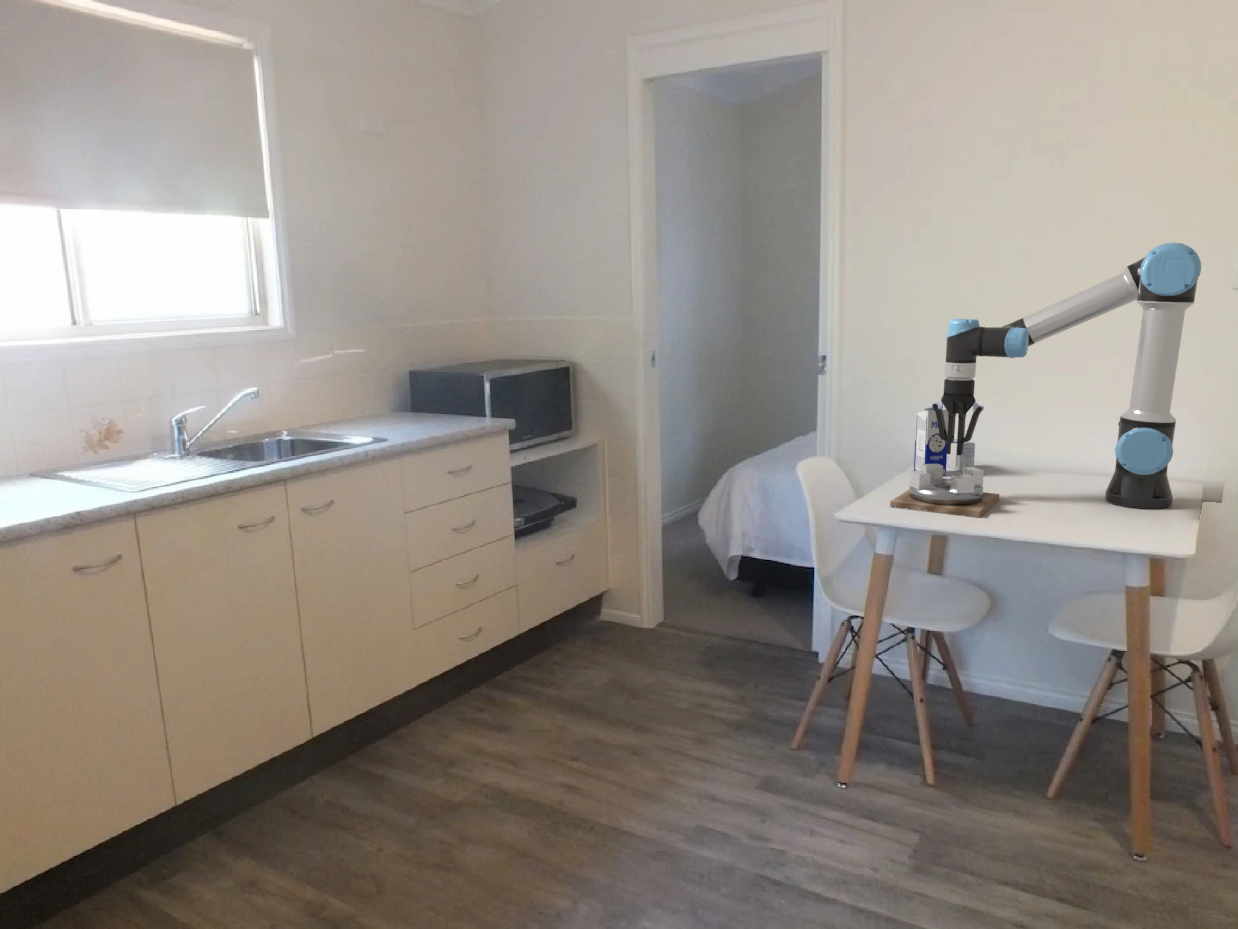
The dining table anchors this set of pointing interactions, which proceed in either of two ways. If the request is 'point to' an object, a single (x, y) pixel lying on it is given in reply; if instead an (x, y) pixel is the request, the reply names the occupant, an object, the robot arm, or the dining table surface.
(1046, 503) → the dining table surface
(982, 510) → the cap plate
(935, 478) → the notched metal disc
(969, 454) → the medicine box
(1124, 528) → the dining table surface
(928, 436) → the milk carton
